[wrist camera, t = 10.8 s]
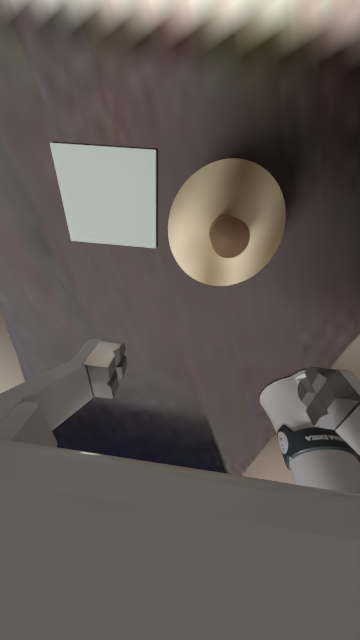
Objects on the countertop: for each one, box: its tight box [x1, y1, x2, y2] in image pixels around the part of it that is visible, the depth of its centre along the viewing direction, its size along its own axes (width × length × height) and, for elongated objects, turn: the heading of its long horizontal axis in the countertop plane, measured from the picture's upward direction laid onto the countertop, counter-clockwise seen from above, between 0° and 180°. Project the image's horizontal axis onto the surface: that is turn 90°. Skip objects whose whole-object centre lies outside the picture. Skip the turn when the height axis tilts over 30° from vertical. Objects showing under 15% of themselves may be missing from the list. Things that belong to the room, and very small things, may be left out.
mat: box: [50, 143, 157, 248], centre depth 28 cm, size 14×12×1 cm
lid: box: [168, 158, 286, 286], centre depth 19 cm, size 12×12×6 cm
